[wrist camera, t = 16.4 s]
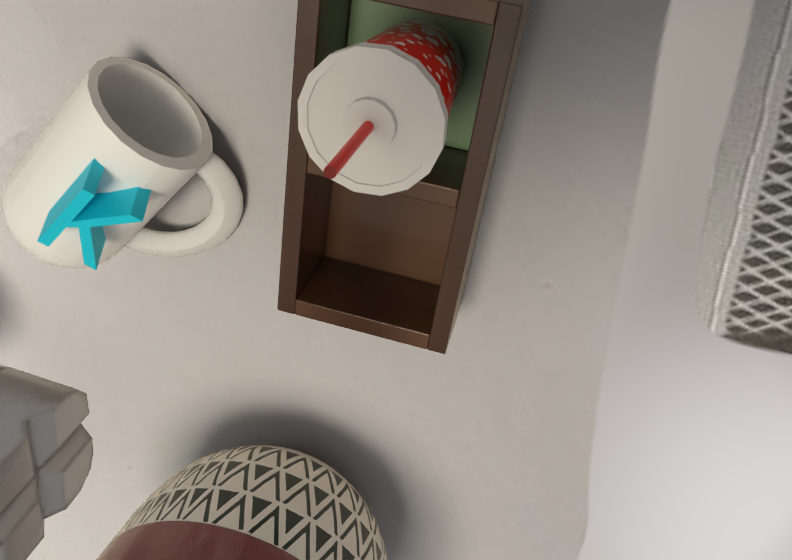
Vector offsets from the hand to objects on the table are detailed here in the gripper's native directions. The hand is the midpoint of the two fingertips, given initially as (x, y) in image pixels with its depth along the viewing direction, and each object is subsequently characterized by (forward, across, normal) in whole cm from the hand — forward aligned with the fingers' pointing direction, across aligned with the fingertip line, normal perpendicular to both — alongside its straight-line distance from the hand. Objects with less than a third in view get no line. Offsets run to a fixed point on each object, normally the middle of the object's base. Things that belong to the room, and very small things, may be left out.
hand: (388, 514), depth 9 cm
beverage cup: (+30, +6, +4) cm, 31 cm away
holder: (+31, +6, +8) cm, 32 cm away
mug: (+31, +21, +14) cm, 40 cm away
